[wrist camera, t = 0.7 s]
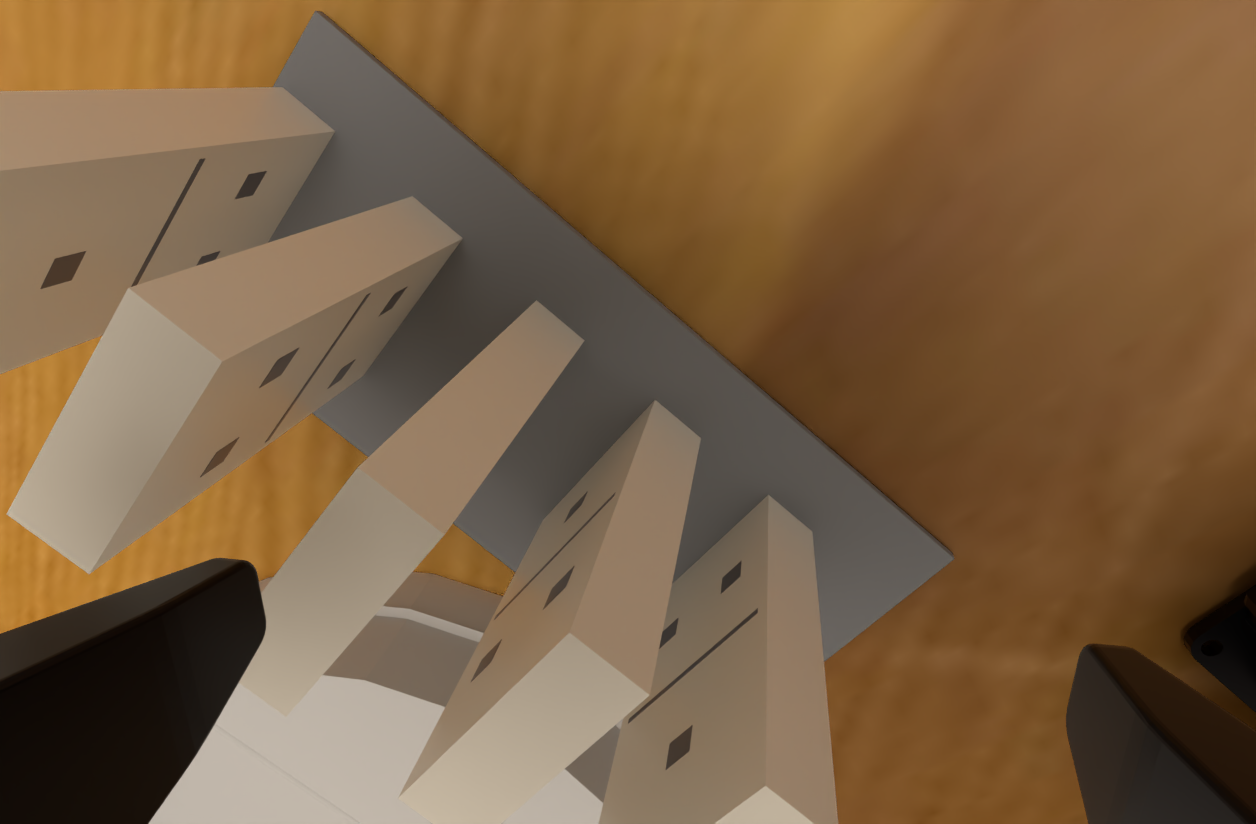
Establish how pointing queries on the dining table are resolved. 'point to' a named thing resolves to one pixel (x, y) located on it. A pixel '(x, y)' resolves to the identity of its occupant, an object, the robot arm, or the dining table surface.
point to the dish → (366, 729)
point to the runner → (600, 369)
